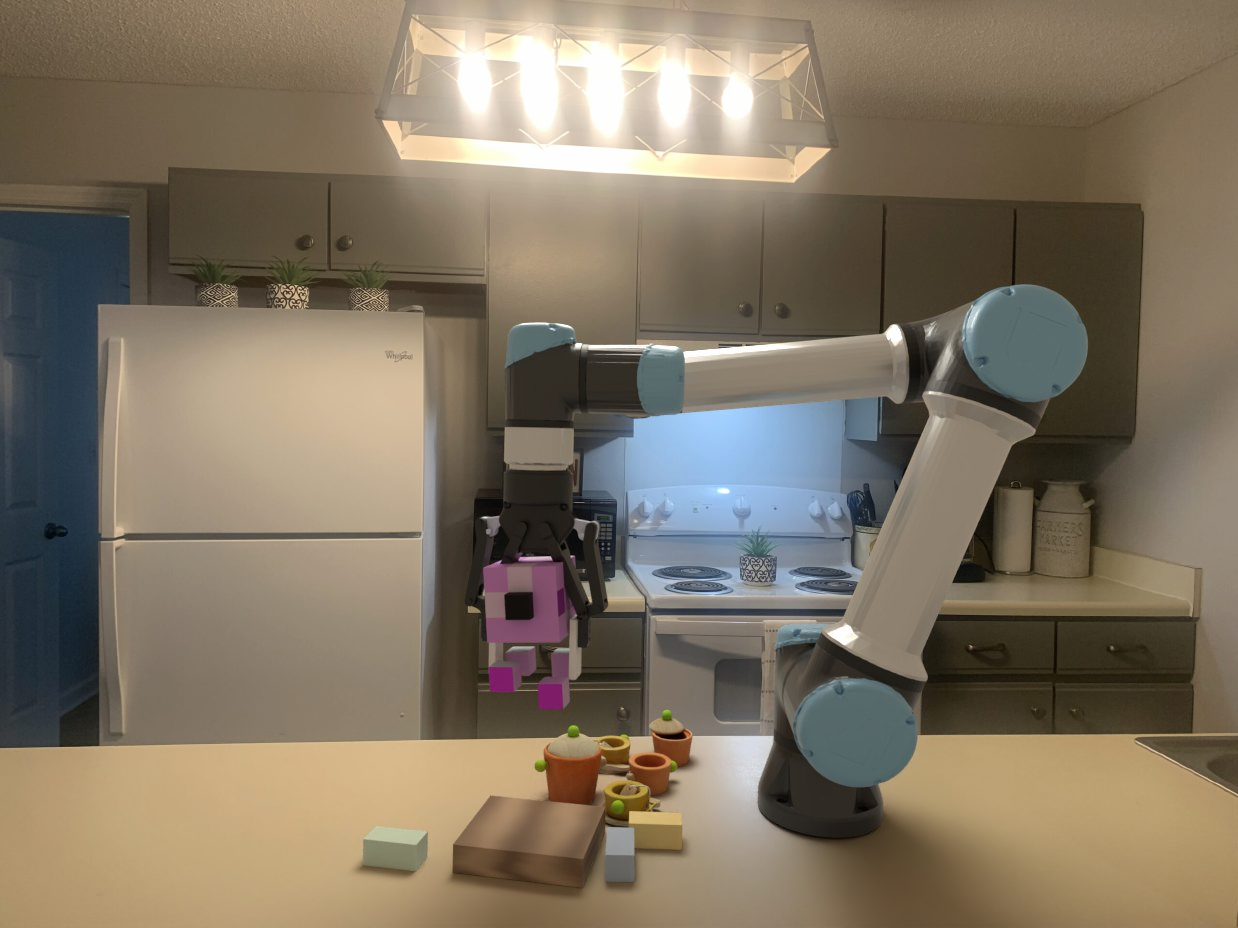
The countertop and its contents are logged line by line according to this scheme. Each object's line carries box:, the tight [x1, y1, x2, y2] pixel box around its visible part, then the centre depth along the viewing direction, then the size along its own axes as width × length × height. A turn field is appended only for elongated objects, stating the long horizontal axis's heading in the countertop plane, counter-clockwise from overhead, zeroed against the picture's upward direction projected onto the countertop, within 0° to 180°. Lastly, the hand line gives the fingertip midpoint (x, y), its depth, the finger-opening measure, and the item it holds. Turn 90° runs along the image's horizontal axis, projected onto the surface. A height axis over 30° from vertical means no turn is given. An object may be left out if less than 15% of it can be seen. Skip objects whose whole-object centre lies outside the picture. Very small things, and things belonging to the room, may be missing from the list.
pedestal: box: [452, 794, 606, 889], centre depth 91 cm, size 14×12×3 cm
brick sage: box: [362, 825, 429, 872], centre depth 88 cm, size 6×3×3 cm, turn 80°
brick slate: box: [604, 826, 635, 883], centre depth 88 cm, size 6×3×3 cm, turn 179°
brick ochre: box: [628, 811, 683, 851], centre depth 94 cm, size 6×3×3 cm, turn 88°
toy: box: [483, 555, 577, 710], centre depth 90 cm, size 11×8×15 cm
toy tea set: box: [534, 709, 694, 828], centre depth 109 cm, size 26×16×10 cm, turn 157°
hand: (535, 672), depth 90 cm, fingers closed on toy, 8 cm apart
